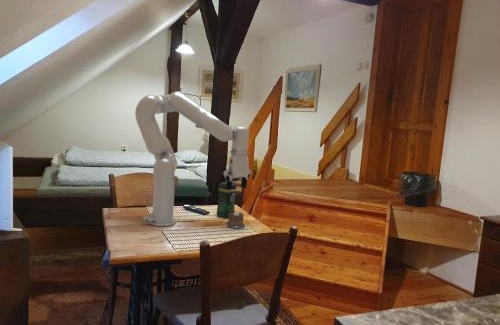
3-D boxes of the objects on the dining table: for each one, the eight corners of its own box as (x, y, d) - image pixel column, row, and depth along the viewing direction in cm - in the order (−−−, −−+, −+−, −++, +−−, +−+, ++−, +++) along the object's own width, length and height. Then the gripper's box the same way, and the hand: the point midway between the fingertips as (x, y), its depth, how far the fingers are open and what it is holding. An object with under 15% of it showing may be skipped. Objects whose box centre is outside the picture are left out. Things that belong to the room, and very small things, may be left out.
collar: (235, 227, 168) (236, 216, 167) (225, 223, 172) (226, 213, 172) (245, 224, 173) (246, 214, 172) (235, 221, 177) (236, 211, 177)
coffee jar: (226, 219, 183) (229, 183, 181) (214, 216, 187) (216, 181, 185) (236, 215, 192) (239, 181, 189) (224, 212, 195) (226, 179, 193)
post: (235, 230, 166) (236, 215, 165) (222, 225, 172) (223, 211, 172) (248, 227, 173) (249, 212, 172) (235, 222, 179) (236, 208, 178)
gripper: (231, 154, 160) (228, 191, 162) (257, 153, 172) (254, 188, 174) (220, 151, 165) (217, 188, 167) (246, 151, 177) (243, 185, 179)
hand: (236, 188), depth 171 cm, fingers open, 9 cm apart
